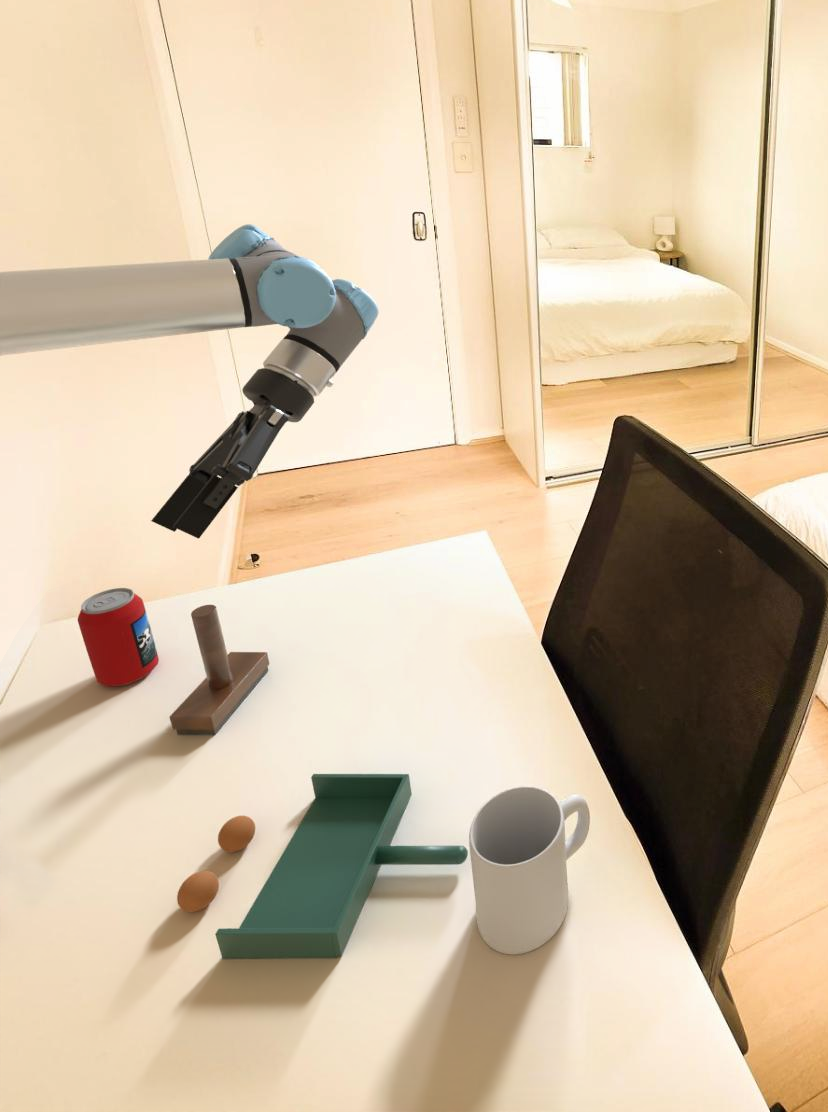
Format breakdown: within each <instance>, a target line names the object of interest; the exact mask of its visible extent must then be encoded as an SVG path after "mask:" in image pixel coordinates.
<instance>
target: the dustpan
mask: <svg viewBox="0 0 828 1112" xmlns="http://www.w3.org/2000/svg"><path fill="white" fill-rule="evenodd" d="M310 778H311V779H310V780H311V784H312V788H313V792H314V799H313V801H312V803H311V805H310V806H309V808H308V809H307V811H306V813H305V814H304V817H303V818H302V820H301V821H300V823H299V825H298V827H297V829H296V830H295V832H294V833H293V835H292V837H291V839H290V840H289V842H288V843H287V845H286V847H285V848H284V851H283V852H282V853H281V855H280V857H279V859H278V861H277V863H276V865H275V866H274V868H273V869H272V871H271V873H270V874H269V876H268V877H267V880H266V881H265V883H264V885H263V886H262V888H261V889H260V891H259V892H258V893H259V894H258V895H257V897H256V898H255V900H254V902H252V905H251V907H250V909H249V910H248V912H247V914H246V915H245V917H244V919H243V921H242V922H241V924H240V926H239V927H238V928H237V927H236V928H217V930H216V932H215V933H214V935H215V939H216V941H217V945H218V949H219V951H220V956H221V959H222V960H257V959H258V960H261V959H266V960H267V959H276V960H277V959H337V958H338V957H342V956H343V953H344V951H345V949H346V947H347V945H348V942H349V941H350V938H351V935H352V933H353V931H354V929H355V926H356V924H357V922H358V919H359V917H360V914H361V912H362V910H363V909H364V906H365V903H366V901H367V899H368V896H369V894H370V892H371V889H372V886H373V884H374V883H375V880H376V877H377V875H378V873H379V871H380V868H381V866H394V865H395V866H402V865H403V866H404V865H405V866H415V865H417V866H419V865H420V866H425V865H426V866H429V865H434V866H439V865H440V866H441V865H442V866H445V865H446V866H447V865H448V866H449V865H452V866H453V865H462V864H463V863H465V862H466V860H467V859H468V857H469V856H468V854H469V852H468V849H467V847H466V846H464V845H391V843H392V840H393V838H394V836H395V834H396V832H397V829H398V827H399V826H400V825H399V824H400V822H401V820H402V818H403V815H404V813H405V811H406V809H407V806H408V804H409V801H410V799H411V797H412V795H413V794H412V786H411V779H410V774H409V773H312V775H311V777H310Z"/></svg>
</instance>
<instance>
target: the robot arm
mask: <svg viewBox="0 0 828 1112" xmlns="http://www.w3.org/2000/svg"><path fill="white" fill-rule="evenodd" d="M378 316H379V307H378V304H377V303H376V301H375V299H374V298H373V297H372V296H371V295H370V294H369V293H368V292H367V291H365V289H363V288H360V287H358V286H357V285H356V284H354V283H353V282H351V281H349V280H346V279H343V278H342V279H340V278H335V279H333V280H332V279H331V278H330V276H329V274H328V273H327V272H326V271H324V269H323V268H322V267H320V266H319V264H317V263H316V262H314V261H313V260H311V259H310V258H307V257H303V256H301V255H297V254H295V253H294V252H291V251H289V250H287V249H285V247H284V246H282V245H281V244H280V243H278V242H277V241H276V240H275V238H274V237H272V236H271V235H268V233H266V232H264V231H263V230H261V229H260V228H259V227H258V226H256V225H254V224H243V225H241V226H239V227H238V228H236V229H235V230H234V231H232V232H231V233H229V234H228V235H227V236H226V237H225V238H224V239H223V240H222V241H221V242H219V244H218V245H217V246H216V247H215V248H214V249H213V250H212V251H211V253H210V255H209V257H208V258H207V259H196V260H193V259H192V260H177V261H161V262H144V263H143V262H142V263H127V264H111V265H110V264H109V265H93V266H77V267H61V268H60V267H59V268H43V269H26V270H25V269H24V270H10V271H9V270H8V271H0V356H11V355H19V354H26V353H35V352H45V351H53V350H62V349H69V348H77V347H86V346H95V345H105V344H113V343H121V342H130V341H138V340H147V339H156V338H163V337H173V336H181V335H189V334H199V333H208V332H215V331H223V330H233V329H242V328H252V327H261V326H262V327H263V326H264V327H265V326H272V325H280V326H281V327H282V326H283V327H287V328H288V329H289V331H288V332H287V334H286V335H285V336H283V338H282V339H281V340H280V341H279V342H278V343H277V345H276V346H275V347H274V348H273V349H272V351H271V352H270V354H268V356H267V357H266V358H265V360H263V362H262V365H263V368H258V369H257V370H256V371H255V372H254V373H253V375H252V376H251V377H250V378H249V380H248V381H247V382H246V383H245V384H244V386H242V394H243V395H244V397H246V399H247V400H248V401H250V402H252V403H253V405H252V406H253V407H251V408H250V409H249V410H246V411H244V410H242V411H241V412H239V413H238V414H237V416H236V417H235V419H234V420H233V421H232V422H231V424H230V425H229V426H228V427H227V428H226V429H225V430H224V431H223V432H222V433H221V434H220V435H219V437H218V438H216V440H215V441H214V442H213V443H212V444H211V445H210V446H209V447H208V449H206V451H204V452H203V454H202V455H201V456H200V457H199V458H198V459H197V460H196V461H195V462H194V463H193V464H192V465H190V466H189V469H188V471H189V473H188V475H187V476H186V477H185V478H184V479H183V480H182V482H181V483H180V484H179V486H178V487H177V488H176V489H175V490H174V492H172V494H171V495H170V496H169V498H168V499H167V500H166V501H165V503H164V504H163V505H162V507H161V508H159V510H158V512H157V513H156V514H155V515H154V516H153V518H152V519H151V520H150V522H152V523H155V524H157V525H158V526H161V527H163V528H165V529H167V530H169V531H171V532H174V533H176V531H177V530H179V531H181V532H183V533H185V534H187V535H189V536H192V537H193V538H195V539H200V538H201V537H202V536H203V534H204V533H205V532H206V530H207V529H208V528H209V527H210V525H211V524H212V522H213V521H214V520H215V518H216V517H218V515H219V513H220V512H221V511H222V509H223V508H224V507H225V505H226V504H227V503H228V501H230V499H231V498H232V496H233V495H234V494H235V492H237V490H238V488H239V487H240V486H242V485H244V484H245V482H248V481H250V480H251V479H252V478H253V477H254V474H255V472H256V471H257V469H258V468H259V466H260V464H261V462H262V461H263V460H264V457H265V456H266V454H267V453H268V451H269V449H270V448H271V446H272V445H273V442H274V441H275V440H276V438H277V436H278V435H279V433H280V431H281V430H282V428H283V427H284V426H285V425H286V423H288V422H289V423H299V422H301V421H302V419H304V417H305V416H306V414H307V413H308V412H309V410H310V409H311V408H312V407H313V405H314V404H315V397H318V396H320V395H321V393H322V392H323V391H324V389H325V388H326V387H327V388H331V387H332V386H333V385H334V384H335V383H334V381H333V380H332V378H333V377H334V376H335V375H336V374H337V372H338V371H339V370H340V368H341V367H342V366H343V365H344V363H345V362H346V360H348V358H349V357H350V356H351V354H352V353H353V352H354V351H355V349H356V348H357V347H358V345H359V344H360V343H361V342H362V340H364V339H365V338H366V337H367V335H368V333H369V331H370V330H371V328H372V327H373V325H374V323H375V322H376V320H377V318H378Z"/></svg>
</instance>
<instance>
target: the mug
mask: <svg viewBox="0 0 828 1112" xmlns="http://www.w3.org/2000/svg"><path fill="white" fill-rule="evenodd" d="M574 813H577V823H576V826H575V827H574V831H573V832H572V834H570V836H568V837H567V838H566V827H565V826H566V825H565V821H566V820H567V819H568V818H569V817H570V816H571V815H573V814H574ZM590 813H591V812H590V807H589V805H588V802H587V800H586V799H585V798H584V796H582V795H581V794H578V793H577V794H575V793H574V794H571V795H569V796H567V797H565V798H564V799H562V800H561V801H559V800H558V799H557V797H556V796H555V795H554V794H553V793H551V792H550V791H548V790H546V789H544V788H541V787H539V786H532V785H521V786H515V787H511V788H508V789H505V790H502V791H501V792H499V793H497V794H495V795H493V796H492V797H490V798H489V799H488V800H487V801H486V802H484V804H483V805H482V806H481V807H480V808H479V810H477V812H476V814H475V815H474V817H473V819H472V821H471V825H470V827H469V833H468V845H469V854H470V863H471V873H472V874H471V875H472V882H473V891H474V902H475V916H476V923H477V928H478V931H479V934H480V936H481V938H482V940H483V941H484V942H485V944H487V946H488V947H489V948H491V949H493V950H494V951H496V952H498V953H501V954H505V955H522V954H526V953H529V952H532V951H534V950H537V949H538V948H540V947H542V946H543V945H545V944H546V943H547V942H548V941H550V939H552V938H553V937H554V935H555V934H556V933H557V932H558V931H559V929H560V927H561V926H562V924H563V922H564V920H565V917H566V916H567V915H566V914H567V911H568V905H569V884H568V870H567V869H568V868H567V860H569V859H570V858H571V857H572V856H573V855H574V854H576V853H577V852H578V851H579V850H580V849H581V847H583V845H584V843H585V841H586V840H587V837H588V834H589V831H590V825H591V824H590V823H591V815H590Z"/></svg>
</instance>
